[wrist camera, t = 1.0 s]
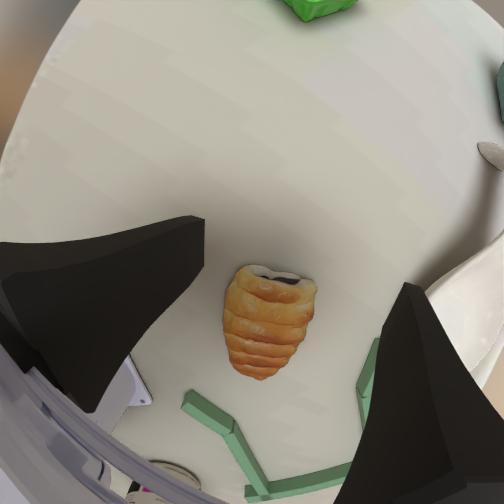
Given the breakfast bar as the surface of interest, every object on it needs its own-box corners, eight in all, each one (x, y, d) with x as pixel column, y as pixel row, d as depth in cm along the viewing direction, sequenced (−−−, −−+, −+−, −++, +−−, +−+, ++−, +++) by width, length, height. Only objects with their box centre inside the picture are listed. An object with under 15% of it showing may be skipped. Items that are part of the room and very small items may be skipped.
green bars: (244, 491, 28) (240, 553, 18) (182, 391, 25) (153, 467, 15) (394, 452, 26) (421, 509, 16) (385, 334, 24) (440, 396, 14)
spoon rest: (447, 379, 25) (480, 413, 18) (364, 362, 24) (392, 408, 17) (518, 178, 21) (563, 177, 14) (448, 122, 21) (496, 105, 14)
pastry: (289, 374, 25) (293, 399, 21) (214, 360, 25) (207, 384, 21) (317, 274, 23) (327, 287, 19) (233, 257, 23) (228, 268, 19)
